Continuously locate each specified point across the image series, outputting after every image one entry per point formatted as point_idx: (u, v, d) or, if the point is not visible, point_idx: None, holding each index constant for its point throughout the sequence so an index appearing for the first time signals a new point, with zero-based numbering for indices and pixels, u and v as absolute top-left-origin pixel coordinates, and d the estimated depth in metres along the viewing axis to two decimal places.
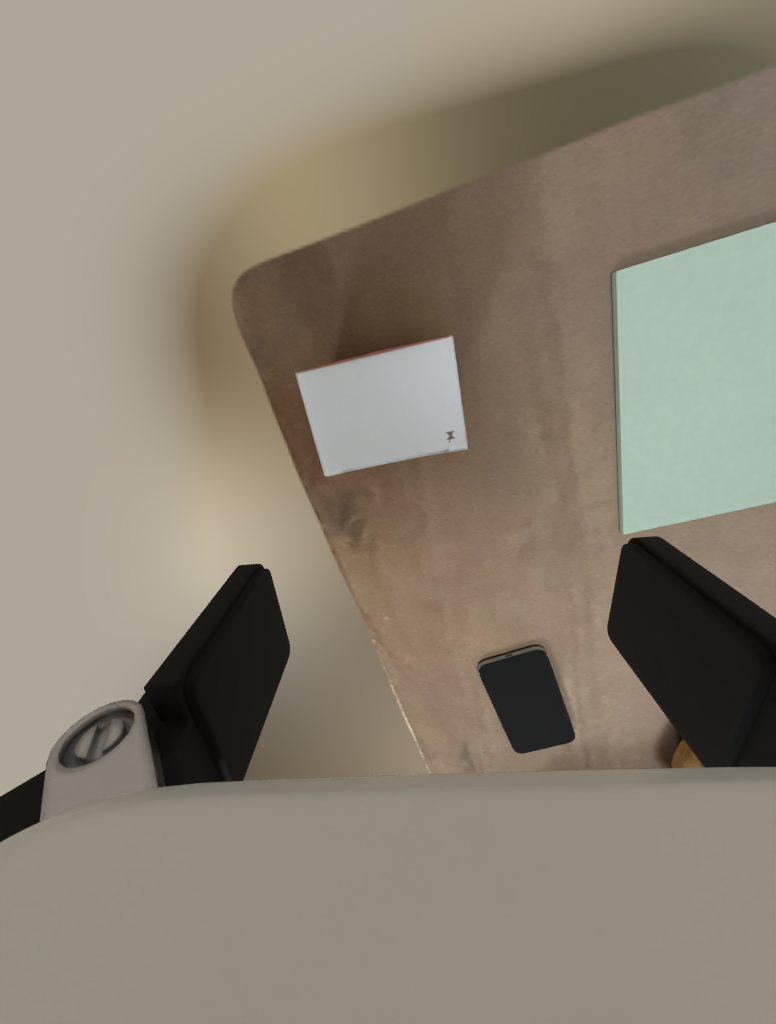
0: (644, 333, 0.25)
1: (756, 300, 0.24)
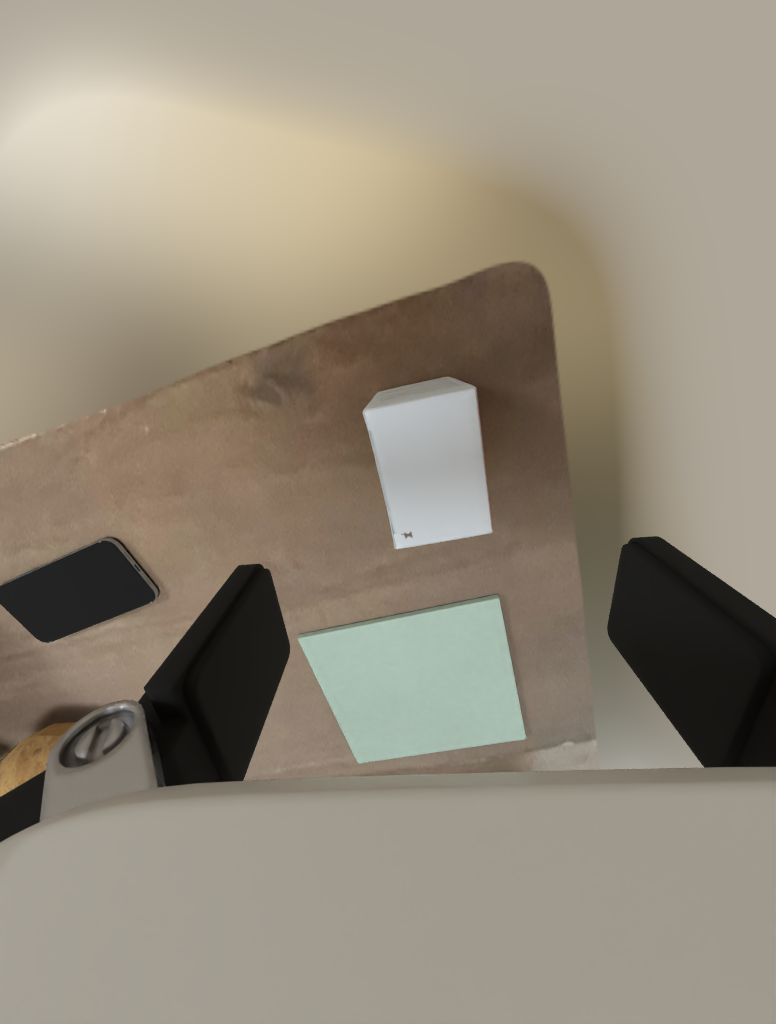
0: (456, 621, 0.34)
1: (470, 674, 0.37)
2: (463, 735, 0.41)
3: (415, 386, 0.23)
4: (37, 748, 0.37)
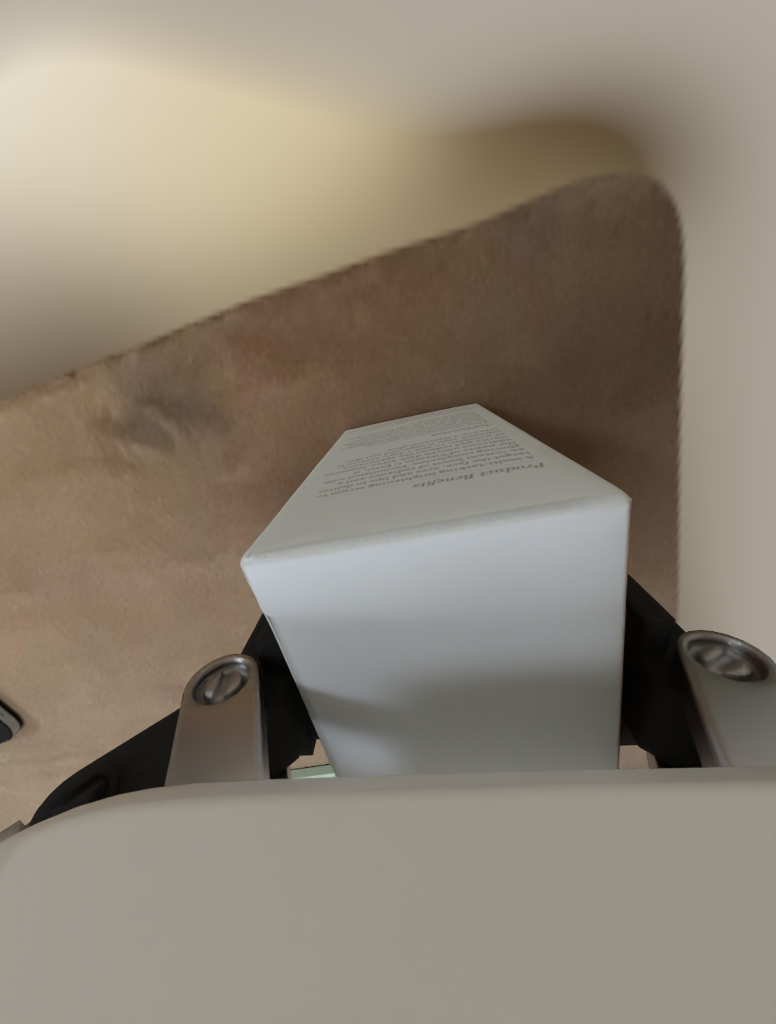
0: None
1: None
2: None
3: (414, 432, 0.11)
4: None
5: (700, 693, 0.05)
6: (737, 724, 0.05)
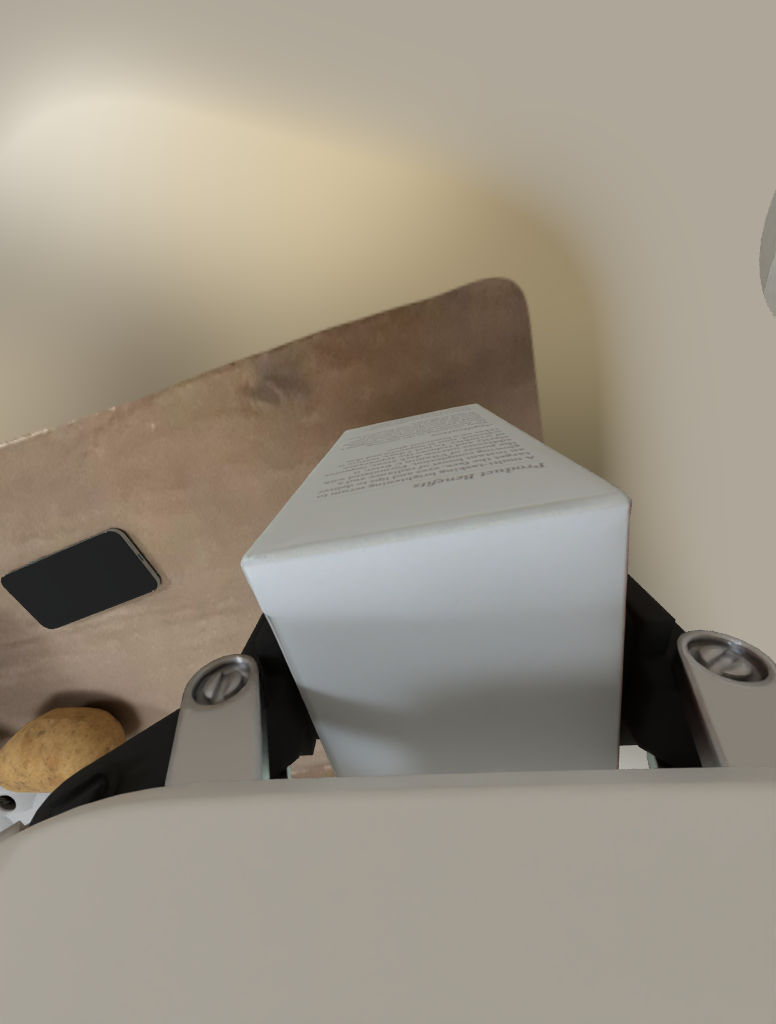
0: None
1: None
2: None
3: (414, 432, 0.11)
4: (41, 730, 0.39)
5: (700, 693, 0.05)
6: (736, 724, 0.05)
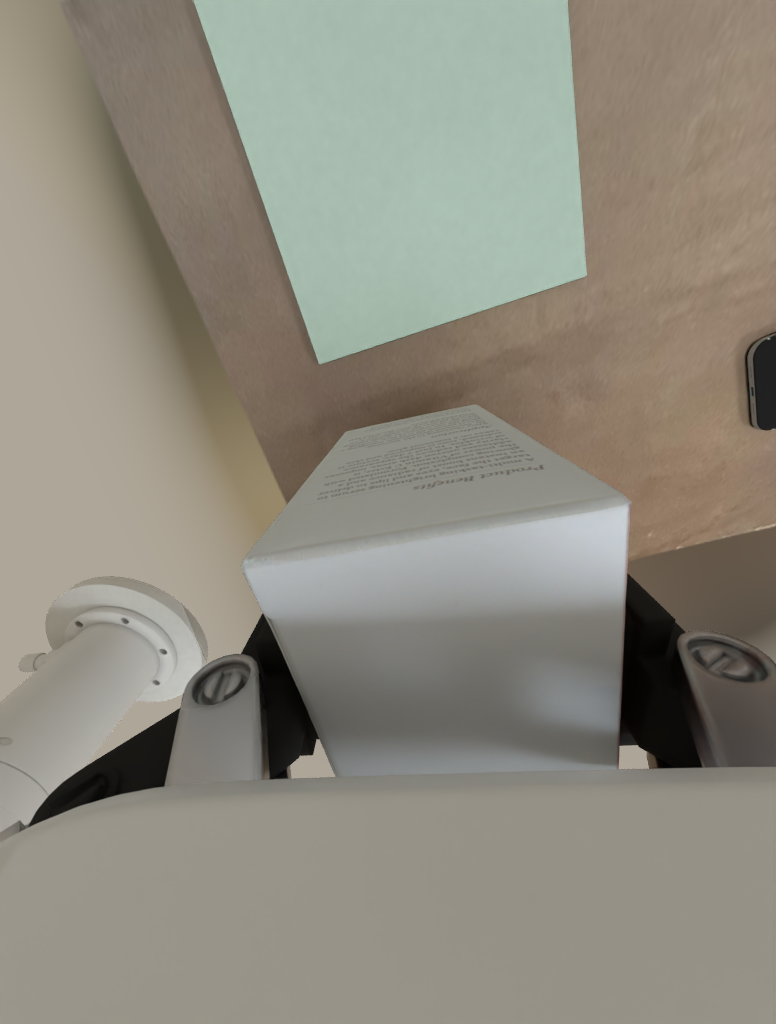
0: (364, 322, 0.27)
1: (331, 208, 0.24)
2: None
3: (414, 433, 0.11)
4: None
5: (700, 693, 0.05)
6: (737, 724, 0.05)
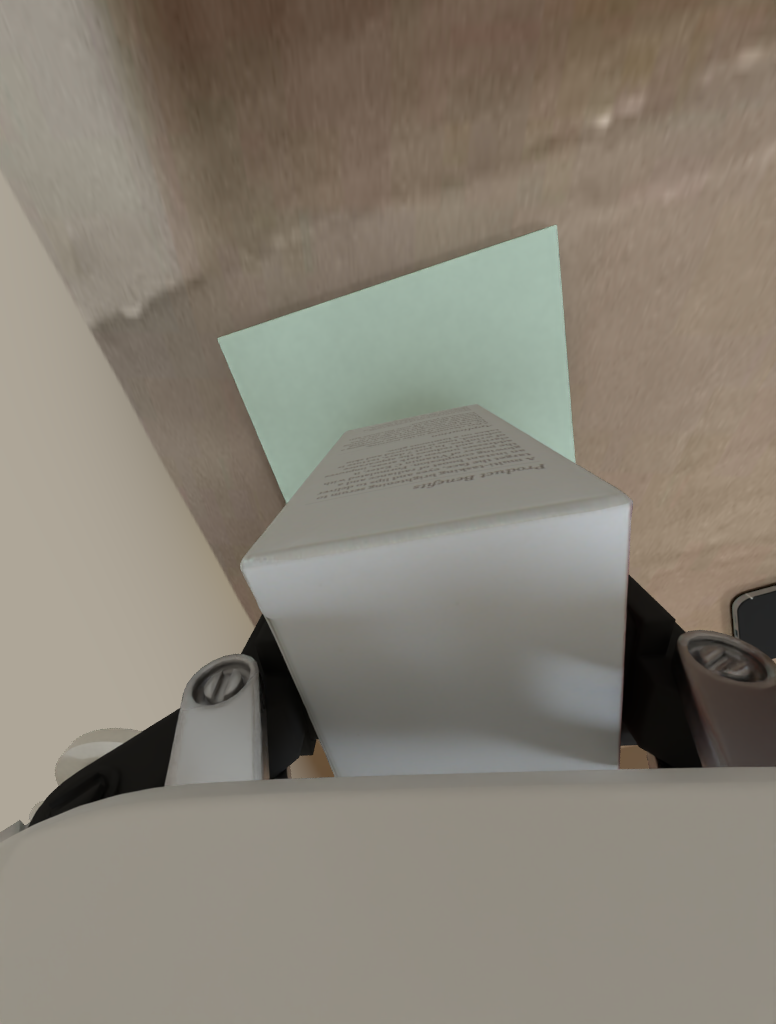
0: None
1: None
2: (334, 343, 0.22)
3: (414, 433, 0.11)
4: None
5: (700, 693, 0.05)
6: (737, 724, 0.05)
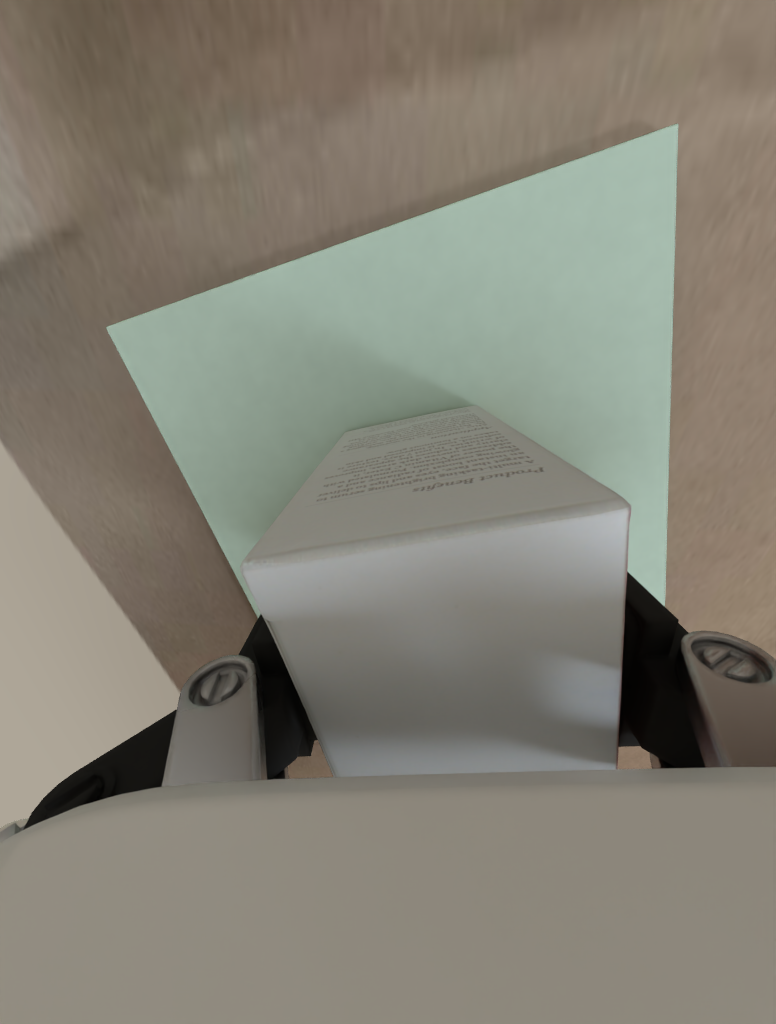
0: None
1: None
2: (294, 335, 0.13)
3: (413, 434, 0.11)
4: None
5: (704, 694, 0.05)
6: (741, 725, 0.05)
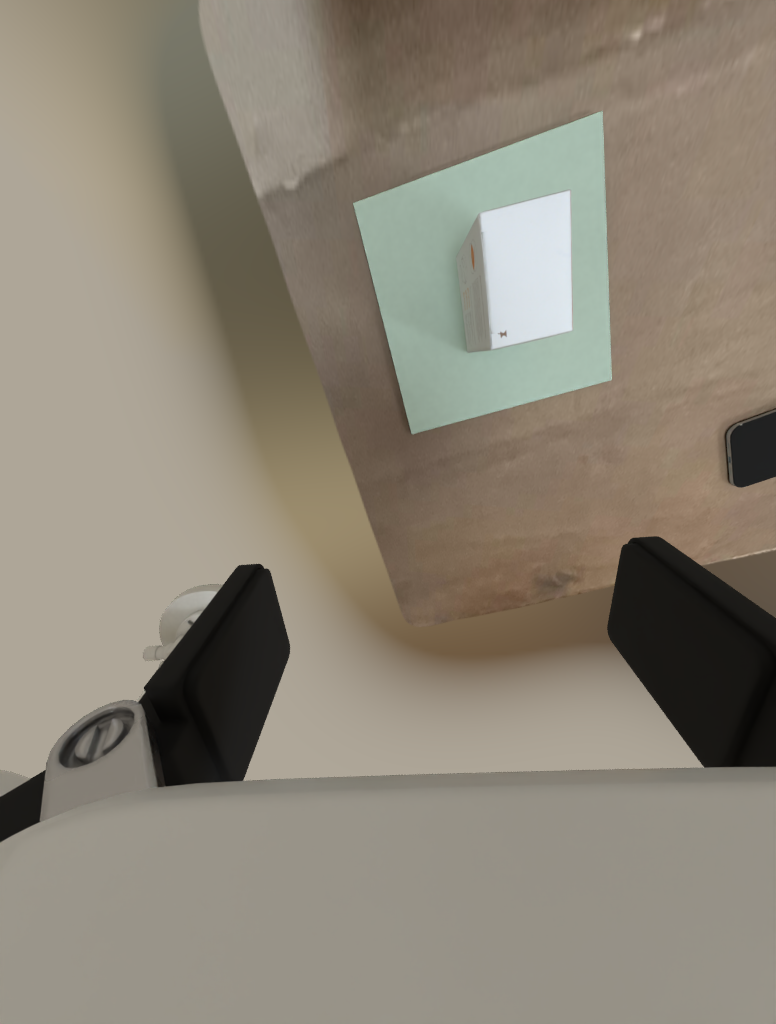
0: (448, 406, 0.36)
1: (432, 332, 0.34)
2: (438, 206, 0.30)
3: None
4: None
5: None
6: None
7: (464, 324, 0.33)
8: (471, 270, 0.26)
